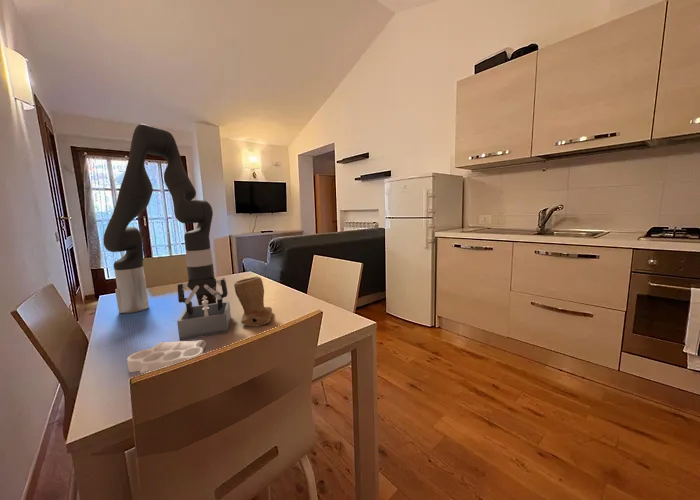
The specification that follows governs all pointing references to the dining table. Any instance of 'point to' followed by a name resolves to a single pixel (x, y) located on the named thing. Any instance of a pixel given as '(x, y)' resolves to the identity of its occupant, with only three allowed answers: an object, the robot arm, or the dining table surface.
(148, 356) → the white muffin tray
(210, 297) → the coffee mug
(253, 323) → the tan upright curved piece
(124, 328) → the dining table surface
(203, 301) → the chess piece
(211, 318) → the bin
